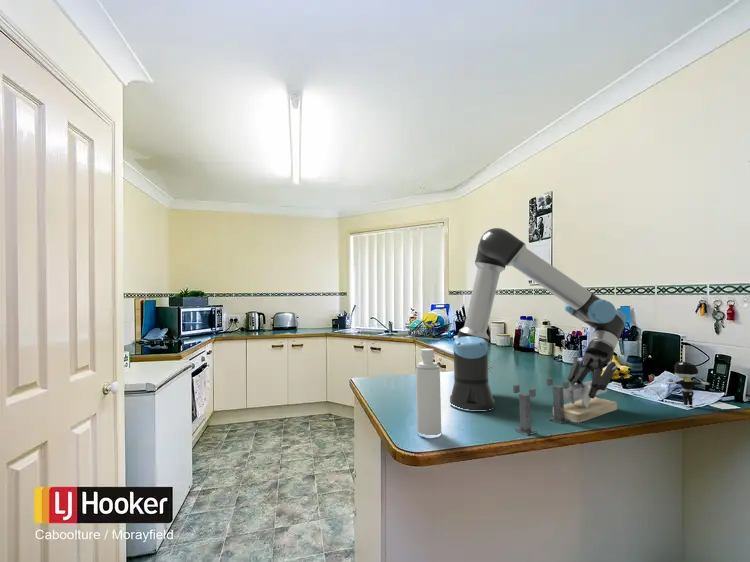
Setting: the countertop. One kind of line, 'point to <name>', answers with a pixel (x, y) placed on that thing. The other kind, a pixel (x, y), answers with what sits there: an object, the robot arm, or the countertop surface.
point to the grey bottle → (428, 394)
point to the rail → (578, 391)
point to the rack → (525, 406)
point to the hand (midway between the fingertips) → (577, 403)
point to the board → (588, 409)
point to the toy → (686, 379)
